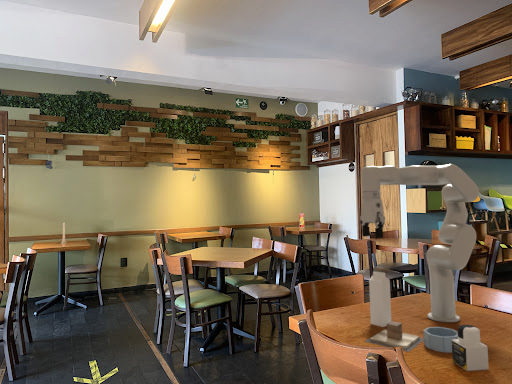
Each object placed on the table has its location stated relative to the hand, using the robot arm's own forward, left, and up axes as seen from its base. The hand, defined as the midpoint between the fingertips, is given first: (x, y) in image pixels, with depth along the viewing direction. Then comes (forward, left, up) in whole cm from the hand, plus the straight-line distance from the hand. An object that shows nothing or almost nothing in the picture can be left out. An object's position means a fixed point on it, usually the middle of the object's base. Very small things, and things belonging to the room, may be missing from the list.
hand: (372, 237), depth 159 cm
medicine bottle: (+18, +39, -37) cm, 57 cm away
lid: (+12, +13, -36) cm, 40 cm away
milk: (-3, +1, -37) cm, 37 cm away
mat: (+12, +13, -37) cm, 41 cm away
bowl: (+8, +28, -37) cm, 47 cm away
